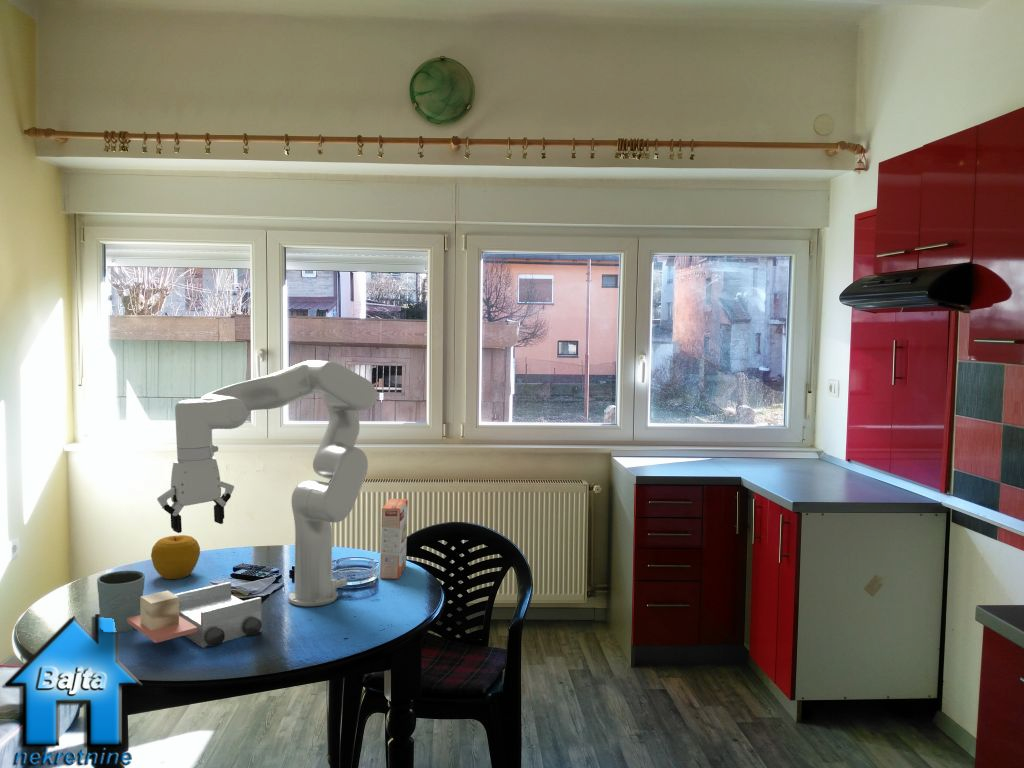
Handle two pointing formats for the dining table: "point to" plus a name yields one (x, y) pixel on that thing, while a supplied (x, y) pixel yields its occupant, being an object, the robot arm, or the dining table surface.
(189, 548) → the apple
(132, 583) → the grey round bin
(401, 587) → the dining table surface
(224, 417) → the robot arm
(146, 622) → the box
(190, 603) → the cart
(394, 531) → the cracker box
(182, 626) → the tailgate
